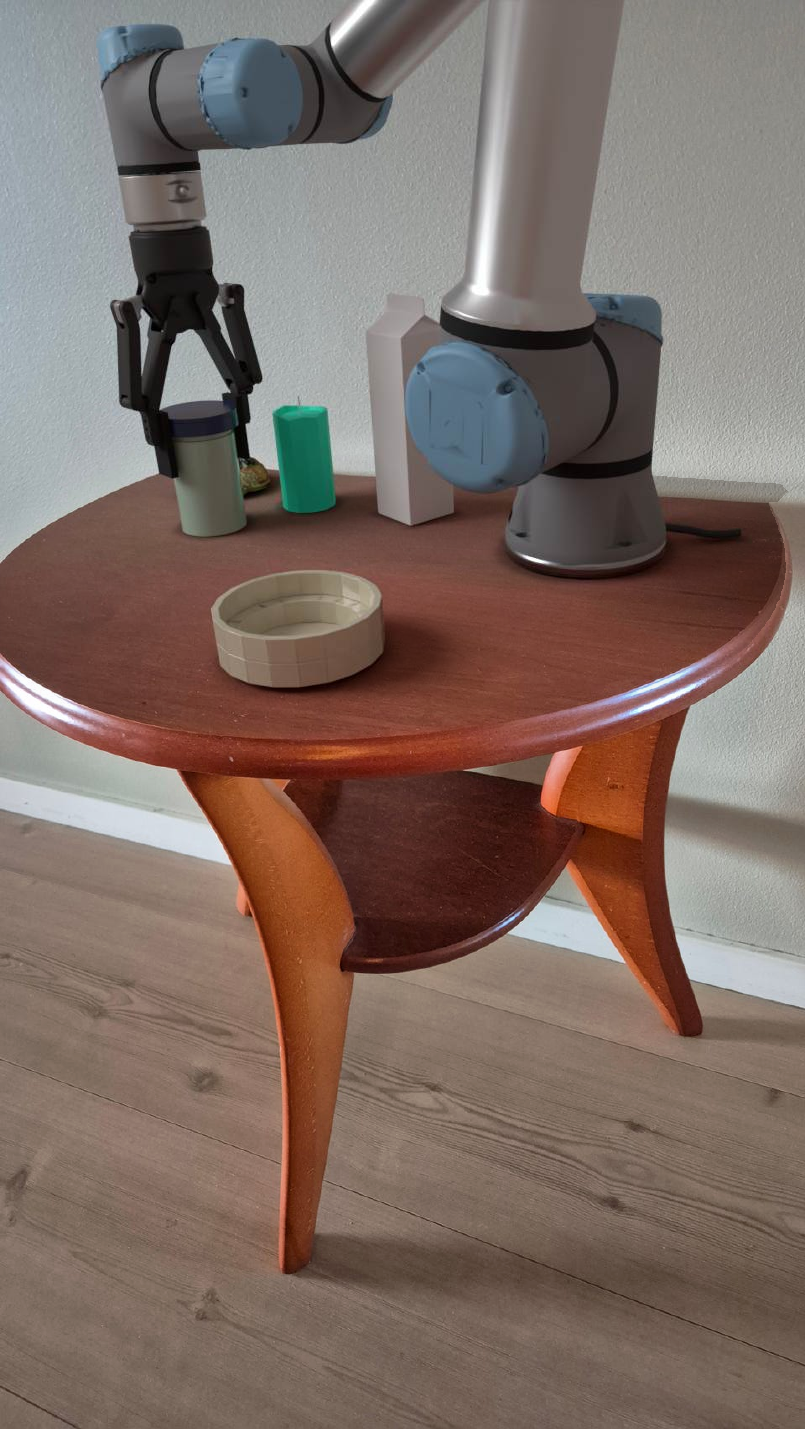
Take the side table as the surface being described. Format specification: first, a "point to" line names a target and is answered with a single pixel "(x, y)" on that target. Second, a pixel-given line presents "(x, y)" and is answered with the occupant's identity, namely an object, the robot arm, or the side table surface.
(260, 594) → the dish
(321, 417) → the candle
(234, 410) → the lid
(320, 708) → the side table surface
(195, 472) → the jar
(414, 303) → the milk
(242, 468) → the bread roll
